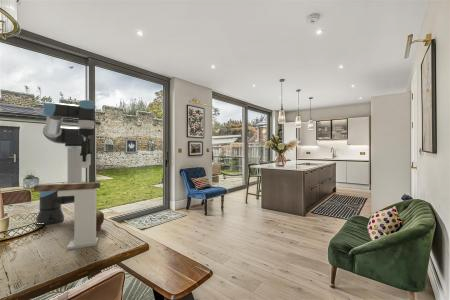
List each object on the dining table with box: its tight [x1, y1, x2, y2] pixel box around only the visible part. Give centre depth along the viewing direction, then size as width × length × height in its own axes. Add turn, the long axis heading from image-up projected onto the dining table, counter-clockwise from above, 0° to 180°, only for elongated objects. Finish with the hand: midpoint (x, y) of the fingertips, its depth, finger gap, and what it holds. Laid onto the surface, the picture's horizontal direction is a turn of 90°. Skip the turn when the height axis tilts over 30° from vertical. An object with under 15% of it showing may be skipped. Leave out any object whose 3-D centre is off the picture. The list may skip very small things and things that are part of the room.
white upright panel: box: [58, 188, 99, 250], centre depth 118 cm, size 17×8×30 cm, turn 114°
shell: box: [96, 210, 105, 232], centre depth 139 cm, size 11×11×12 cm
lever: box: [33, 181, 101, 193], centre depth 116 cm, size 28×3×3 cm, turn 113°
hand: (86, 166), depth 125 cm, fingers open, 13 cm apart
